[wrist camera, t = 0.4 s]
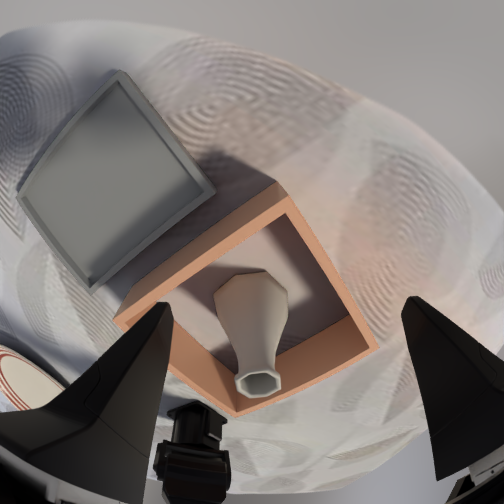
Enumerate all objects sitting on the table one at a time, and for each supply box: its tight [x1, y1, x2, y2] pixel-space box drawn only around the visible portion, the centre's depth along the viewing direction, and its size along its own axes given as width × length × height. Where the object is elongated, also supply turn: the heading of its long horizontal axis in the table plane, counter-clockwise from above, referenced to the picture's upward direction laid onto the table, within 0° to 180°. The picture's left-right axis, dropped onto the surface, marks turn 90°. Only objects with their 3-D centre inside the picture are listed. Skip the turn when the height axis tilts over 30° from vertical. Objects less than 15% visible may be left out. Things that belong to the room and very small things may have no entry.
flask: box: [213, 272, 288, 398], centre depth 22 cm, size 7×7×10 cm
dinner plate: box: [0, 344, 66, 411], centre depth 32 cm, size 28×27×3 cm
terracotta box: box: [112, 181, 380, 418], centre depth 24 cm, size 17×17×6 cm
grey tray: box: [16, 70, 217, 296], centre depth 20 cm, size 16×13×2 cm
